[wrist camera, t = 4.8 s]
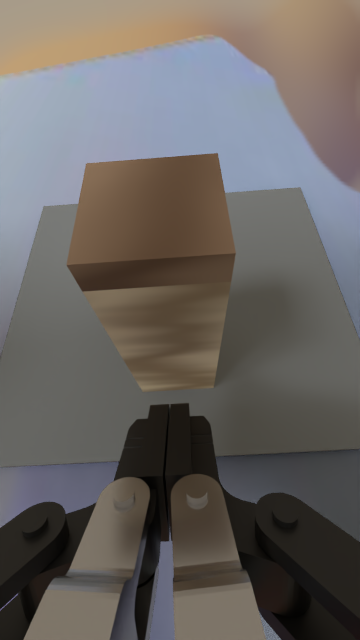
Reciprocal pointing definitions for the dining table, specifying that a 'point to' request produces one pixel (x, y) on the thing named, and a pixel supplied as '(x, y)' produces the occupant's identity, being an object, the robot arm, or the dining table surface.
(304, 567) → the robot arm
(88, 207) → the maple block
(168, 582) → the dining table surface
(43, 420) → the rubber mat
